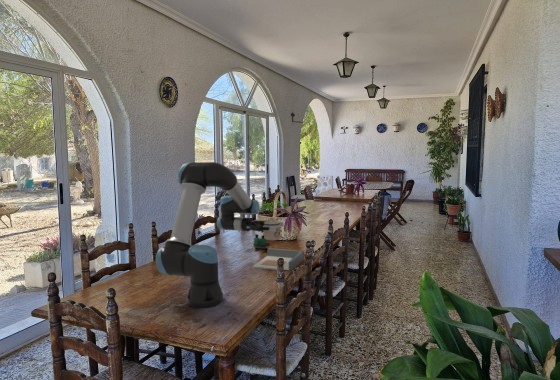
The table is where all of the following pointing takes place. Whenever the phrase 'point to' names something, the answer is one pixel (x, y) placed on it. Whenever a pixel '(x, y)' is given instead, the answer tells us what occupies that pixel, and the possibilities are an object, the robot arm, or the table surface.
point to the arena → (289, 256)
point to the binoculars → (260, 243)
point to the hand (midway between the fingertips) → (279, 226)
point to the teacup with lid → (272, 234)
